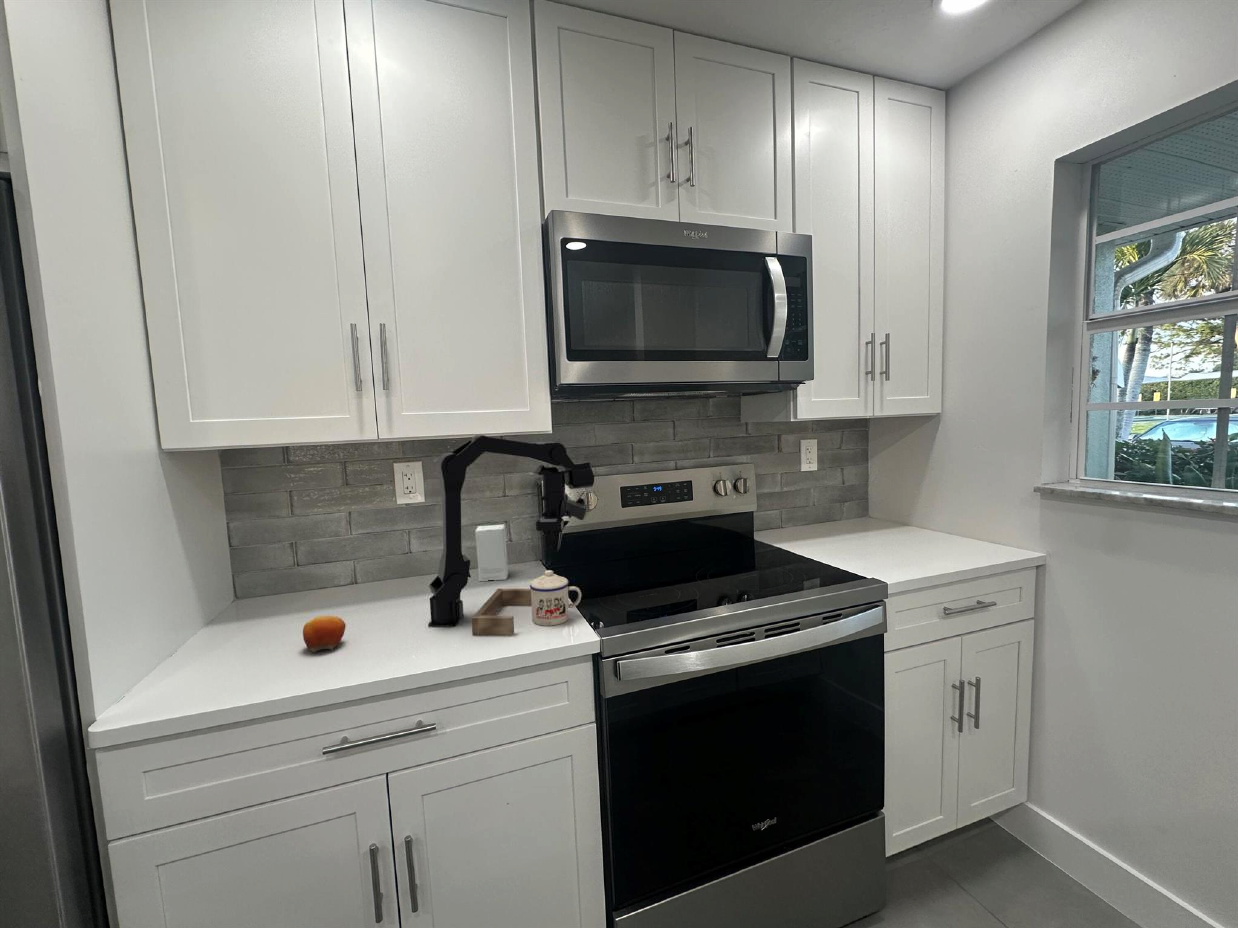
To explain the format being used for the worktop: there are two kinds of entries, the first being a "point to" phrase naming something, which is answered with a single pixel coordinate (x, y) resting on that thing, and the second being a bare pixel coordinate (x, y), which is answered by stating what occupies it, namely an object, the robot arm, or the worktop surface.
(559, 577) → the teacup with lid
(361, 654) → the worktop surface
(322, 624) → the fruit
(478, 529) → the skincare box
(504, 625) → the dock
